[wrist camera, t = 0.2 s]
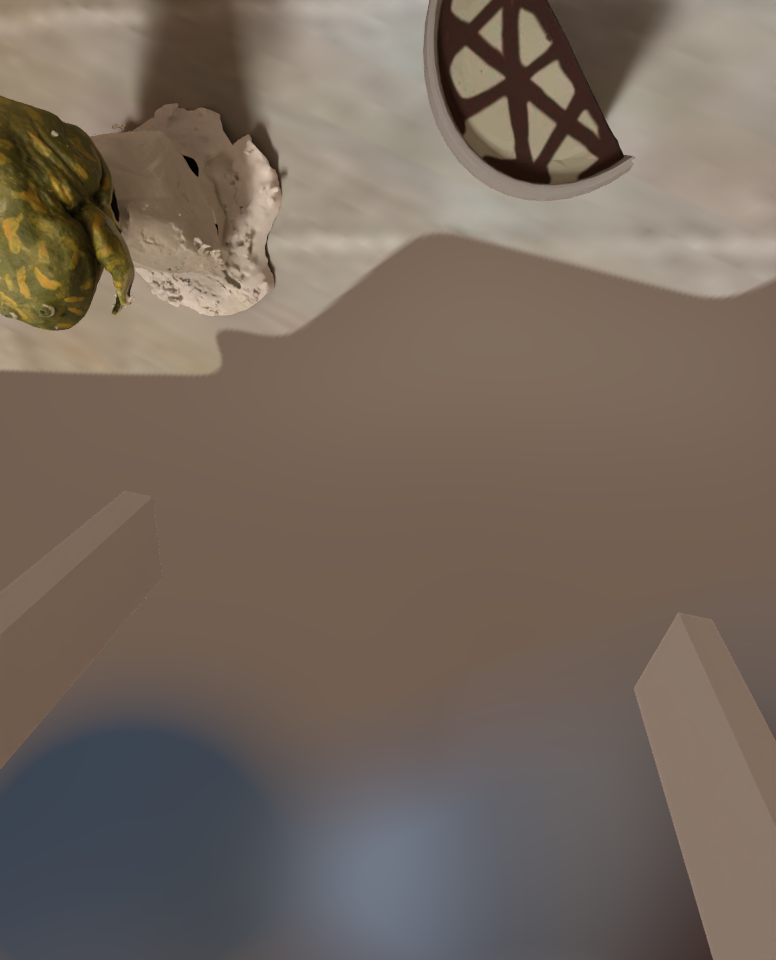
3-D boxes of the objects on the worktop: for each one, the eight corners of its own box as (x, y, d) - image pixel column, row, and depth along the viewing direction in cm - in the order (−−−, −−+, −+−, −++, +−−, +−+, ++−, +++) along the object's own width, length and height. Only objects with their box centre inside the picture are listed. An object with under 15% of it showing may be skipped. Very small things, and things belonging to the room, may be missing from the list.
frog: (123, 292, 40) (-117, 356, 24) (110, 87, 33) (-233, -10, 17) (271, 328, 39) (125, 419, 23) (287, 127, 33) (98, 64, 17)
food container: (396, 56, 30) (359, 0, 21) (487, -37, 27) (487, -143, 19) (508, 242, 34) (515, 259, 25) (598, 176, 31) (640, 169, 22)
